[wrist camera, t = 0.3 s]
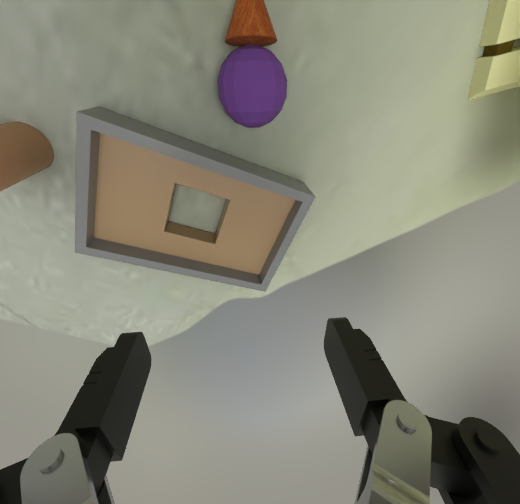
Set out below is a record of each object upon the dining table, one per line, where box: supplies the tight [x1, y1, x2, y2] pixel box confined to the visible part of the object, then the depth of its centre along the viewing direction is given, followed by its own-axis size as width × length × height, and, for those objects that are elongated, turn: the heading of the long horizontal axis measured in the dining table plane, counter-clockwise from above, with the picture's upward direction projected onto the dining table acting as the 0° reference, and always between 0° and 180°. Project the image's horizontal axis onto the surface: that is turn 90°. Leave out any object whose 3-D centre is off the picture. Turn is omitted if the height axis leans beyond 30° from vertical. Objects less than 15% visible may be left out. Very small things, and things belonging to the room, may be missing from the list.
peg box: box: [75, 107, 315, 291], centre depth 29 cm, size 14×22×4 cm, turn 68°
